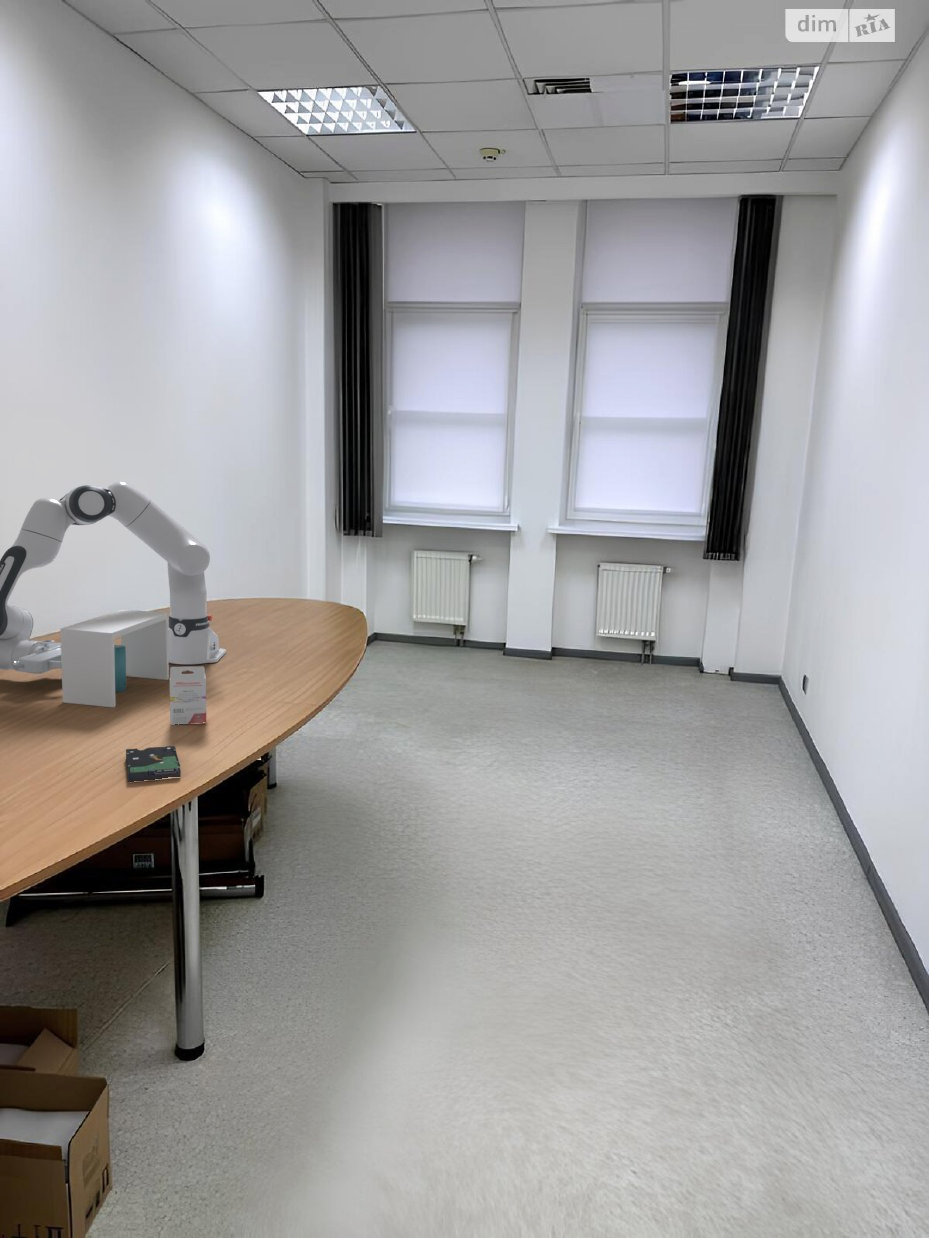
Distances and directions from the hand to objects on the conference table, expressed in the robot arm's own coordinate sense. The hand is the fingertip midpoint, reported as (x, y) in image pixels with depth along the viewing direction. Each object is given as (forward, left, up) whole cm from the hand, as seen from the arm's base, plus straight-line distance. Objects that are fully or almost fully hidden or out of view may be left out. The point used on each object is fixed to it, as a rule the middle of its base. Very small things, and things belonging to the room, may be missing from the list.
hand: (78, 661), depth 236 cm
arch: (0, +12, -7) cm, 14 cm away
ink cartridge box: (+20, +42, -7) cm, 47 cm away
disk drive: (+51, +49, -8) cm, 71 cm away
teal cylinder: (0, +11, -7) cm, 13 cm away
